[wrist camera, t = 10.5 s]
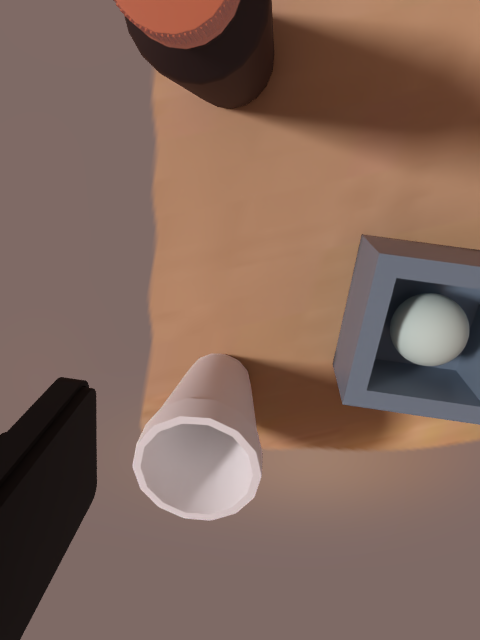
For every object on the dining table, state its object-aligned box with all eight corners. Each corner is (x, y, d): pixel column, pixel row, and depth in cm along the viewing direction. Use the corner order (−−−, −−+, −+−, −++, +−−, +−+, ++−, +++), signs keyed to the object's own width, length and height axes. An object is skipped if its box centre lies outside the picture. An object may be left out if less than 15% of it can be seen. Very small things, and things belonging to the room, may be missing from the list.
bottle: (256, -11, 32) (224, -233, 13) (286, 88, 34) (295, 18, 15) (171, 30, 33) (33, -117, 14) (205, 122, 35) (124, 97, 17)
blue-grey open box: (361, 234, 37) (379, 253, 31) (510, 254, 37) (560, 277, 30) (332, 364, 42) (342, 404, 36) (464, 383, 42) (498, 427, 35)
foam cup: (183, 327, 42) (144, 401, 30) (276, 352, 42) (275, 434, 30) (165, 408, 46) (125, 503, 34) (251, 430, 46) (242, 533, 34)
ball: (392, 278, 38) (410, 302, 32) (463, 289, 37) (493, 314, 32) (376, 341, 40) (390, 373, 35) (442, 351, 40) (467, 385, 34)
